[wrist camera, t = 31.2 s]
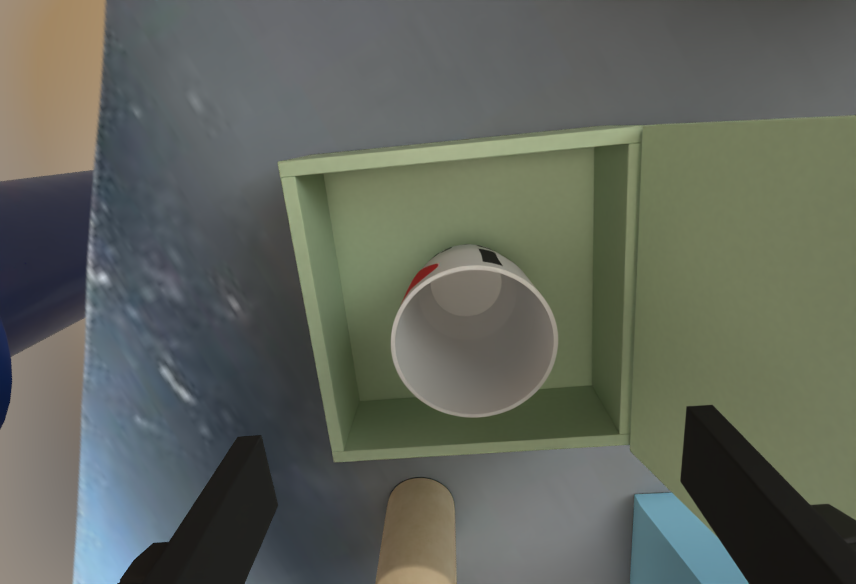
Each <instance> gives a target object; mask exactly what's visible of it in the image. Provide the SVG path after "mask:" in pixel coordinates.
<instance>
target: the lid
mask: <svg viewBox="0 0 856 584" xmlns="http://www.w3.org/2000/svg"><path fill="white" fill-rule="evenodd" d="M700 405H713V406H714V407H715V408H716V409H717V410H718V411H719V412H720V413H721V414H722V415H723V416H724V417H725V418H726V419H727V420H728V421H729V422H730V423H731V424H732V425H733V426H734V427H735V428H736V429H737V430H738V431H739V432H740V433H741V434H742V435H743V436H744V437H745V438H746V440H747V441H748V442H749V443H750V444H751V445H752V446H753V447H754V448H755V449H756V450H757V451H758V452H759V453H760V454H761V455H762V456H763V457H764V458H765V459H766V460H767V461H768V462H769V463H770V464H771V465H772V466H773V467H774V468H775V469H776V470H777V471H778V472H779V473H780V474H781V475H782V476H783V477H784V479H785V480H786V481H787V482H788V483H789V484H790V485H791V486H792V487H793V488H794V489H795V490H796V491H797V492H798V493H799V494H800V495H801V496H802V497H803V498H804V499H805V500H806V501H807V502H808V503H809V504H810V505H816V504H830V505H832V506H833V507H835V508H837V509H838V510H840V511H842V512H843V513H845V514H846V515H848V516H850V517H851V518H853V519H855V520H856V115H850V116H828V117H806V118H785V119H763V120H741V121H720V122H698V123H676V124H656V125H646V126H643V134H642V159H641V184H640V209H639V234H638V259H637V284H636V309H635V334H634V359H633V384H632V409H631V435H630V451H631V452H632V453H633V454H634V455H635V456H636V457H637V458H638V459H639V460H640V461H641V462H642V463H643V464H644V465H645V466H646V467H647V468H648V469H649V470H650V471H651V472H652V473H653V474H654V475H655V476H656V477H657V478H658V479H659V480H660V481H661V482H662V483H663V484H664V485H665V486H666V487H667V488H668V489H669V490H670V491H671V492H672V493H673V494H674V495H675V496H676V497H677V498H678V499H679V500H680V501H681V502H682V503H683V504H684V505H685V506H686V507H687V508H688V509H689V510H690V511H691V512H692V513H693V514H694V515H695V516H696V517H697V518H698V519H699V520H700V521H701V522H702V523H703V524H704V525H705V526H706V527H707V528H708V529H710V530H711V531H712V532H713V533H714V534H715V532H714V531H713V529H712V528H711V527H710V525H709V524H708V522H707V521H706V519H705V518H704V516H703V515H702V513H701V512H700V510H699V509H698V507H697V506H696V504H695V503H694V501H693V500H692V498H691V497H690V495H689V494H688V492H687V491H686V489H685V488H684V486H683V485H682V483H681V482H680V478H681V466H682V454H683V442H684V430H685V418H686V406H700ZM715 535H716V534H715ZM716 536H717V535H716Z"/></svg>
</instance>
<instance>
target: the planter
mask: <svg viewBox="0 0 856 584" xmlns="http://www.w3.org/2000/svg"><path fill="white" fill-rule="evenodd" d="M630 584H749V583H748V581H747V580H746V579H745V577H744V576H743V574H742V573H741V571H740V570H739V568H738V567H737V565H736V564H735V562H734V561H733V559H732V558H731V556H730V555H729V553H728V552H727V550H726V549H725V547H724V546H723V544H722V543H721V541H720V540H719V538H718V537H717V536H716V535H715V534H714V533H713V532H712V531H711V530H710V529H708V528H707V527H706V526H705V525H704V524H703V523H702V522H701V521H700V520H699V519H698V518H697V517H696V516H695V515H694V514H693V513H692V512H691V511H690V510H689V509H688V508H687V507H686V506H685V505H684V504H683V503H682V502H681V501H680V500H679V499H678V498H677V497H676V496H675V495H674V494H673V493H654V494H635V495H634V514H633V534H632V553H631V572H630Z"/></svg>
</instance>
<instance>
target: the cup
mask: <svg viewBox="0 0 856 584" xmlns="http://www.w3.org/2000/svg"><path fill="white" fill-rule="evenodd" d="M557 349H558V331H557V326H556V322H555V318H554V316H553V313H552V311H551V309H550V307H549V305H548V303H547V302H546V300H545V299H544V298H543V296H542V295H541V294H540V293H539V291H538V290H537V289H536V287H535V286H534V285H533V284H532V282H531V281H530V280H529V279H528V277H527V276H526V275H525V274H524V272H523V271H522V270H521V269H520V268H519V267H518V266H517V265H515V264H514V263H513V262H512V261H510V260H509V259H507V258H505V257H504V256H502V255H500V254H499V253H497V252H495V251H493V250H491V249H489V248H487V247H484V246H480V245H472V244H464V245H457V246H453V247H450V248H447V249H445V250H443V251H441V252H440V253H438V254H436V255H435V256H434V257H433V258H432V259H431V260H430V261H429V262H428V263H427V264H426V265H425V266H424V267H423V268H422V269H421V270H420V271H419V272H418V273H417V274H416V276H415V277H414V278H413V280H412V281H411V283H410V285H409V287H408V289H407V292H406V294H405V296H404V299H403V301H402V303H401V306H400V308H399V310H398V313H397V315H396V317H395V320H394V323H393V327H392V333H391V353H392V358H393V362H394V365H395V368H396V370H397V372H398V374H399V376H400V378H401V380H402V381H403V383H404V384H405V385H406V387H407V388H408V389H409V390H410V391H411V392H412V393H413V394H414V395H415V396H416V397H417V398H418V399H419V400H421V401H422V402H424V403H425V404H427V405H428V406H430V407H432V408H434V409H436V410H438V411H441V412H443V413H447V414H450V415H454V416H460V417H487V416H492V415H496V414H500V413H503V412H506V411H508V410H511V409H513V408H515V407H517V406H518V405H520V404H522V403H523V402H525V401H526V400H528V399H529V398H530V397H531V396H532V395H533V394H535V393H536V392H537V391H538V389H539V388H540V387H541V386H542V385H543V383H544V382H545V381H546V379H547V377H548V376H549V374H550V372H551V370H552V368H553V365H554V362H555V359H556V355H557Z"/></svg>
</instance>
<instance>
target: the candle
mask: <svg viewBox="0 0 856 584" xmlns="http://www.w3.org/2000/svg"><path fill="white" fill-rule="evenodd" d="M375 584H457V577H456V536H455V506H454V501H453V498H452V495H451V493H450V492H449V491H448V489H447V488H446V487H444V486H443V485H442V484H440V483H439V482H436V481H434V480H431V479H426V478H414V479H409V480H407V481H404V482H402V483H401V484H399V485H398V486H397V487H396V488H395V489H394V490H393V491H392V493H391V495H390V497H389V500H388V505H387V511H386V517H385V524H384V530H383V537H382V543H381V550H380V556H379V563H378V569H377V576H376V582H375Z"/></svg>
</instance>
